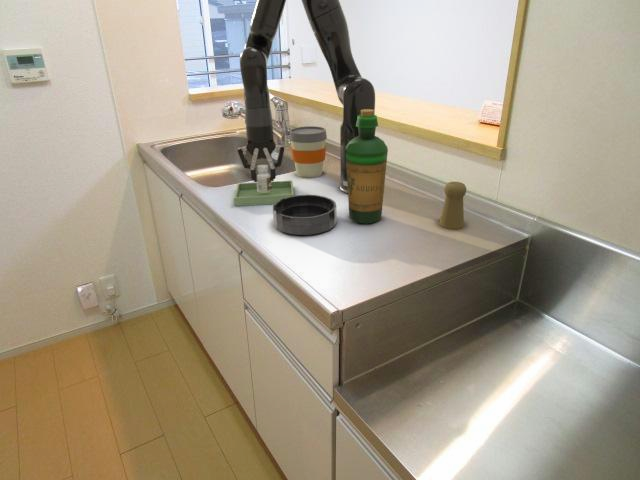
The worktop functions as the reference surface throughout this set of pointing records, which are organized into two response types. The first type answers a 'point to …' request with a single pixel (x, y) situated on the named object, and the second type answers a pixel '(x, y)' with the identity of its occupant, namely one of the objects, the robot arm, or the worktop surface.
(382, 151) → the bottle
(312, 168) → the reusable coffee cup
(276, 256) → the worktop surface
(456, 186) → the cork
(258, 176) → the pill bottle
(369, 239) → the worktop surface
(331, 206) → the pan
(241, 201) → the tray
